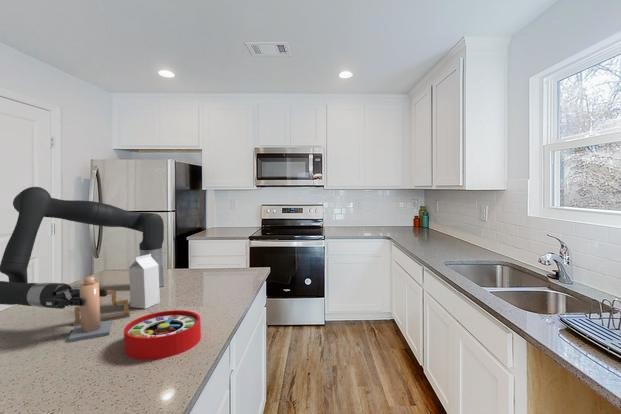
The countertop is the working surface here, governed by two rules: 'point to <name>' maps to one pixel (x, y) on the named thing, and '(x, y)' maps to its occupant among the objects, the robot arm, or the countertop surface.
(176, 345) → the toy clock
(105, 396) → the countertop surface
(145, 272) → the milk carton
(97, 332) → the pad
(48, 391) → the countertop surface
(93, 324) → the peach bottle
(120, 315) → the golden stepped frame
